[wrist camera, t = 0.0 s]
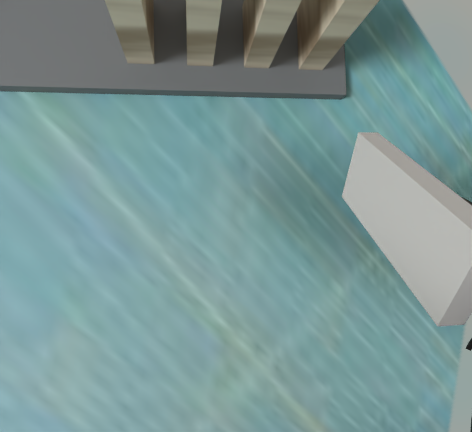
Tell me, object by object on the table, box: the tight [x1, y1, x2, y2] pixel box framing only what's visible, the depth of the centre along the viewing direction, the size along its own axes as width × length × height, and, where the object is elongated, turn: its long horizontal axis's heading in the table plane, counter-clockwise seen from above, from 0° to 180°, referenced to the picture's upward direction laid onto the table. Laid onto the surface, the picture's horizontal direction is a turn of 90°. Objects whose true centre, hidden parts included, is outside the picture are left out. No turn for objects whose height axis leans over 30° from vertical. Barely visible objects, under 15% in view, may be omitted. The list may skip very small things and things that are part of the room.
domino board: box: [0, 0, 346, 99], centre depth 28 cm, size 9×32×1 cm, turn 92°
